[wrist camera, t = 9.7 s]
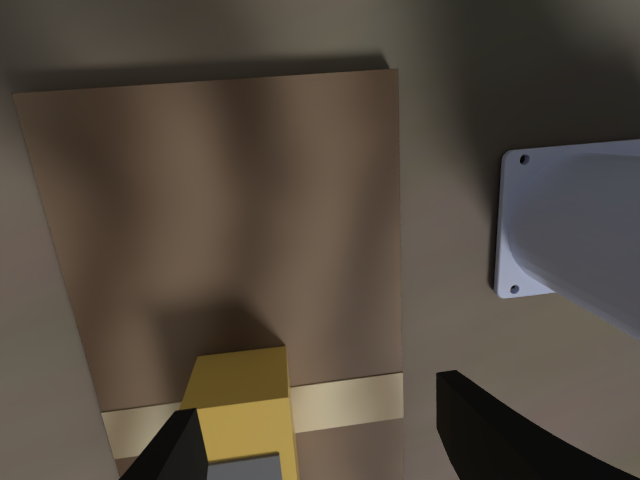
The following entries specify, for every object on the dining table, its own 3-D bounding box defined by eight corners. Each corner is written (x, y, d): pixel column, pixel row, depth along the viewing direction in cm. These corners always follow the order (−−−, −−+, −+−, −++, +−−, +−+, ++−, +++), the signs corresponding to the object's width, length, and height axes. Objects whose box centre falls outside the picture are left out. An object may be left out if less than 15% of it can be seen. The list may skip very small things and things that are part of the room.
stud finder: (286, 345, 20) (288, 399, 16) (298, 467, 22) (303, 541, 18) (197, 356, 19) (177, 414, 15) (219, 479, 22) (207, 557, 18)
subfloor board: (391, 71, 18) (398, 68, 17) (399, 476, 25) (404, 491, 23) (26, 95, 16) (10, 93, 15) (142, 516, 23) (135, 534, 22)
